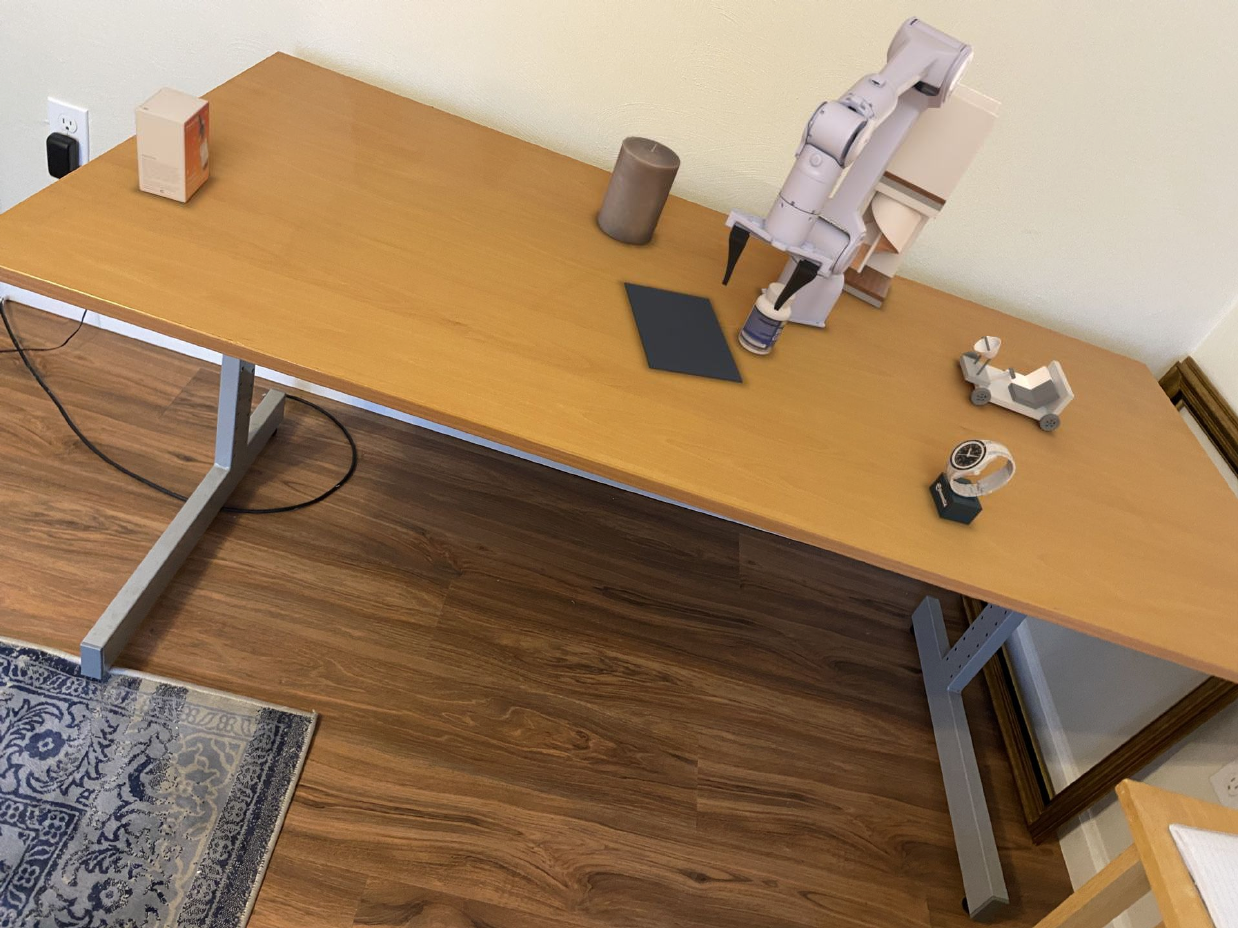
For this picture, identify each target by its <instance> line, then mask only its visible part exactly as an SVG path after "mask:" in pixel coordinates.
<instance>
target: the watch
mask: <svg viewBox="0 0 1238 928" xmlns="http://www.w3.org/2000/svg"><path fill="white" fill-rule="evenodd" d="M998 456H999V457H1003V458H1006V459H1007V460H1006V464H1005V465H1004V466H1003V467H1002V468H1001V469H997V470H995V471H993V472H992V473H990V474H989V475H987V476H985V477H983V478H980V479H978V480H976V483H973V482H972V480H971V479H969V478H966V477H965V476H973V475H974V476H979V475H980V474H981V472H982V471H983V470H984V469H985V468H986V467H987V466H988V464H990V463H991V462H993V461H995V460H997V459H998ZM1016 466H1017V465H1016V462H1015V460H1014V458H1013V455H1012V454H1011V452H1010V450H1009V448H1008V447H1007V446H1006V445H1004V444H1002V443H1001V442H998V441H993V440H989V439H978V438H971V439H967V440H965V441H962V442H960V443H959V444H957V445H956V446H955V447H954V448H953V449H952V451H951V452H950V455H949V457H948V459H947V460H946V465H945V471H944V472H942V471H941V473H940V474H939V475H938V476H937V478H936V479H935V480H934V481H933V482H932V484H931V485H930V486H929V487H928V488H929V491H930V494H931V497H932V500H933V502H934V505H935V508H936V511H937V513H938V516H939V518H940V519H944V520H948V521H952V522H956V523H959V524H963V525H966V526H969V525H971V523H972V522H973V521H974V520H975V519H976V518H977V516H978V515H980V513H981V512H982V511H983V509H984V508H983V506H982V503H981V501H980V499H979V497H980V496H981V497H984V496H987V495H989V494H992V493H994V492H996V491H998V490H999V489H1001V488H1003V487H1005V486H1006V485H1007V484H1008V483H1010V482H1009V481H1010V480H1011V479H1012V478H1013V477H1014V474H1015V473H1016V468H1017V467H1016Z"/></svg>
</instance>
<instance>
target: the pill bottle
mask: <svg viewBox="0 0 1238 928" xmlns="http://www.w3.org/2000/svg"><path fill="white" fill-rule="evenodd" d="M784 288H785V285H783V284H780V283H777V282H772V283H770V284H769V286H768V287H767V288H766V289H767V292H766V294H763V295H762V294H761V295H759V296H758V297H757V299H756V301H755V302H754V304H753V306H752V307H751V308H752V309H751V310H750V312H749V314H748V316H747V318H746V320H745V322H744V324H743V326H742V328H741V330H740V332H739V334H738V342H739V344H741V346H742V347H743V348H744V349H745V350H747V351H748V352H750V353H753V354H756V355H762V356H764V355H768V354H770V353H771V351H772V350H773V349H774V347H775V344H776V343H777V341H778V339H779V337H780V335H781V334H782V332H783V330H784V328H785V327H786V325H787V323H788V322H789V321H788V319H789V317H790V315H791V308H790V305H791V304H792V302H793V300H794V298H795V293H794V294H793V295H792V296H791V297H790V298H789V299H788V300H787V301H786V302H785V303H784V304H783V305H782V307H781V308H780V309H779V311H776V310H774V305H775V302H776V301H777V299H778V297H779V295H780V294H781V292H782V291H783V289H784Z"/></svg>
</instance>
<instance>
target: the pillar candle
mask: <svg viewBox="0 0 1238 928" xmlns="http://www.w3.org/2000/svg"><path fill="white" fill-rule="evenodd" d="M680 167H681V159H680V156H679V155H678V154H677V153H676V152H675V151H674V150H672V149H671V148H670V147H668V146H667V145H664V144H663V143H661V142H659V141H656V140H654V139H650V138H648V137H647V138H646V137H642V136H634V135H632V136H626V137H625V138H624V139H623V140H622V142H621V146H620V149H619V153H618V156H617V159H616V161H615V164H614V168H613V170H612V172H611V176H610V179H609V182H608V185H607V188H606V191H605V194H604V197H603V200H602V204H601V206H600V209H599V212H598V215H597V223H598V225H599V227H600V229H601V230H602V231H603V232H604V233H605V234H606V235H608V236H609V237H611V238H612V239H614V240H617V241H619V242H622V243H625V244H630V245H643V246H644V245H647V244H650V243H651V242H652V239H653V236H654V233H655V231H656V228H657V226H658V223H659V220H660V218H661V215H662V213H663V210H664V208H665V205H666V203H667V201H668V198H669V194H670V192H671V190H672V187H673V185H674V182H675V179H676V177H677V175H678V172H679V169H680Z"/></svg>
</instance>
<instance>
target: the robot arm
mask: <svg viewBox="0 0 1238 928" xmlns="http://www.w3.org/2000/svg"><path fill="white" fill-rule="evenodd" d="M974 54H975V53H974V46H973V45H971V44H967V43H965V42H962V41H961V40H959V39H957V38H955V37H953V36H951V35H949V34H948V33H945V32H944V31H942V30H939V29H938V28H936V27H935V26H932V25H930V24H929V23H926V22H924V21H922V20H921V19H920V17H918V16H916V15H913V16H911V17H909V18H907V19H906V20H905V21H903V23H901V25H900V26H899V28H898V29H897V30H896V32H895V34H894V36H893V37H892V40H891V42H890V44H889V45H888V49H887V52H886V64H884V66H883V68H882V69H881V70H880V71H879V72H878V73H877V72H872V73H871V72H870V73H867V74H865V75H864V76H862V77H860V79H859V80H857V82H855V83H854V84H853V85H852V86H851V87H850V88H849V89H847V90H846V91H845V92H844V93H843V94H842V95H841V96H840V97H839V98H838V99H836V100H835V99H833V100H830V101H829V102H828V101H827V100H824V101H822V102H821V103H819V105H818V106H817V107H816V108H815V110H814V111H813V112H812V114H811V115H810V117H809V119H808V121H807V123H806V125H805V127H804V129H803V132H802V136H801V140H800V143H799V145H798V147H797V149H796V151H795V155H794V157H795V158H796V159H795V161H794V164H793V165H792V167H791V169H790V171H789V173H788V174H787V177H786V179H785V181H784V183H783V185H782V187H781V188H780V191H779V192H778V195H777V197H776V198H775V200H774V203H773V204H772V206H771V208H770V210H769V212H768V214H767V215H766V217H765V218H762V217H759V216H757V215H754V214H751V213H749V212H746V211H742V210H741V209H738V208H736V207H732V208H731V211H730V213H729V215H728V217H727V219H726V221H725V223H724V226H726V227H728V228H730V229H731V231H730V232H729V234H728V254H727V255H728V256H727V263H726V268H725V273H724V276H723V279H722V282H721V285H723V286H725V287H727V286H728V284H729V282H730V280H731V277H732V275H733V272H734V269H735V266H736V265H737V262H738V261H739V259H740V257H741V255H742V254H743V251H744V249H745V247H746V246H747V243H748V241H749V239H750V236H751V237H753V238H755V239H757V240H759V241H761V242H763V243H765V244H767V245H769V246H772V247H773V248H775V249H777V250H780V251H782V252H784V253H786V254H788V255H790V256H789V258H788V260H787V262H786V264H785V265H784V268H783V270H782V272H781V273H780V276H779V277H778V279H777V281H776V283H780V284H783V285H785V288H784V289H783V291H782V292H781V294H780V295H779V297H778V299H777V301H776V302H775V305H774V310H776V311H779V309H780V308H781V307H782V305H783V304H784V303H785V302H786V301H787V300H788V299H789V298H790V297H791V296H792V295H793V294H794V293H795V298H794V300H793V302H792V304H791V305H790V308H791V315H790V317H789V319H788V321H787V322H790V323H791V322H792V323H797V324H801V325H806V326H812V327H817V328H822V329H824V328H825V327H826V324H825V322H826V320H827V318H828V316H829V315H830V313H831V311H832V310H833V308H834V307H835V304H836V303H837V301H838V300H839V298H840V296H841V294H842V292H843V285H844V274H843V272H844V271H845V270H846V269H847V268H848V267H849V265H850V264H851V263H852V261H853V260H854V258H855V256H856V255H857V253H858V251H859V249H860V246H861V244H862V242H863V241H864V239H865V237H866V227H865V225H864V222H863V219H862V216H861V213H860V211H861V209H862V208H863V206H864V204H865V203H866V201H867V200H868V198H869V196H870V195H871V193H872V192H873V190H874V188H875V187H876V185H877V184H878V182H879V180H880V179H881V177H882V176H883V174H884V172H885V171H886V169H887V168H888V166H889V164H890V163H891V161H892V160H893V158H894V156H895V155H896V153H897V151H898V150H899V148H900V147H901V145H902V143H903V142H904V140H905V139H906V137H907V135H908V134H909V132H910V131H911V129H912V127H913V126H914V124H915V123H916V121H917V120H918V119H919V117H920V116H921V115H922V114H923V113H924V112H925V111H926V110H927V109H928V108H941V107H942V105H943V104H944V103H945V102H946V101H947V100H948V99H949V97H950V96H951V94H952V92H953V91H954V89H955V88H956V86H957V85H958V83H960V82H961V80H962V79H963V76H964V75H965V73H966V72H967V70H968V68H969V66H970V65H971V63H972V60H973V57H974ZM848 167H850V168H849V170H848V171H847V173H846V175H845V176H844V178H843V179H842V181H841V183H840V185H839V186H838V188H837V189H836V191H835V193H834V195H833V196H832V197H830V196H831V194H832V193H833V191H834V189H835V188H836V186H837V184H838V182H839V181H840V178H841V176H842V175H843V173H844V172H845V169H846V168H848ZM822 216H823V217H822ZM830 221H831V222H830ZM838 226H839V227H838ZM847 231H848V232H849V234H848V233H847ZM767 289H768V288H761V289H760V293H761V295H763V294H766V292H767Z"/></svg>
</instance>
